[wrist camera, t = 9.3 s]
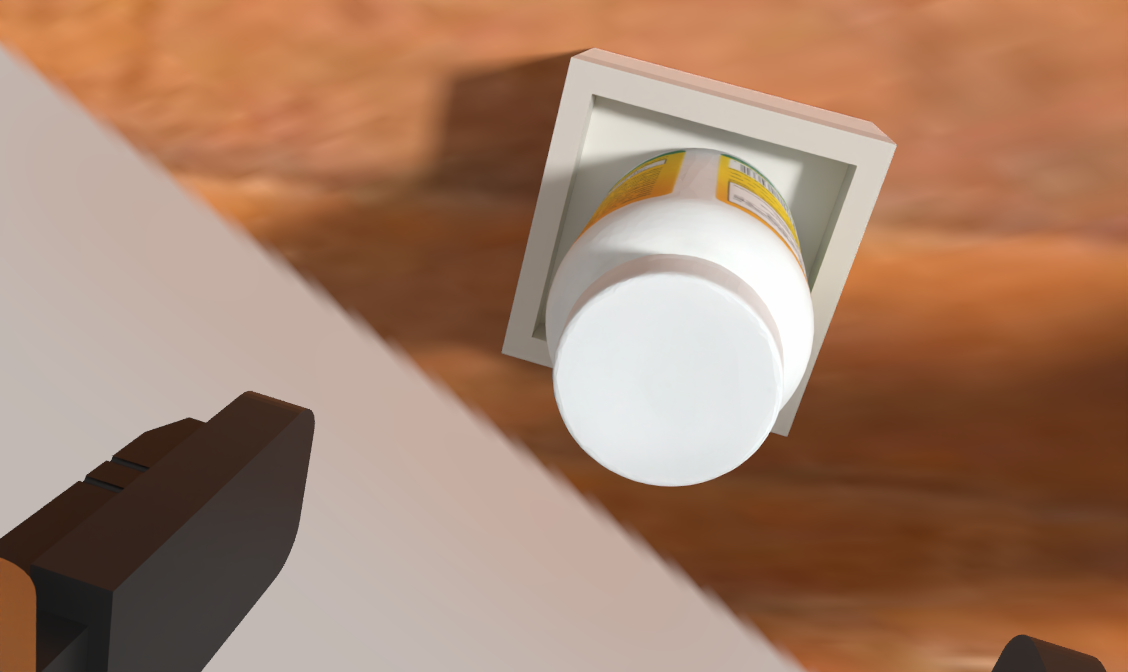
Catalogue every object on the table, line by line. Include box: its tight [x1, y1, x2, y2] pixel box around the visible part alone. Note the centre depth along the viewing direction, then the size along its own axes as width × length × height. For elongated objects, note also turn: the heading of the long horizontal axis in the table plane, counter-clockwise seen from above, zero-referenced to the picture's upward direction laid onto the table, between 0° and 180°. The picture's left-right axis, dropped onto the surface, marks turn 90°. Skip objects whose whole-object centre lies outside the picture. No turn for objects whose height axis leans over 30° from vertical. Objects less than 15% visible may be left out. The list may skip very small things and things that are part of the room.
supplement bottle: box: [545, 148, 814, 486], centre depth 21 cm, size 5×5×10 cm
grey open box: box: [501, 48, 897, 437], centre depth 26 cm, size 8×8×4 cm
